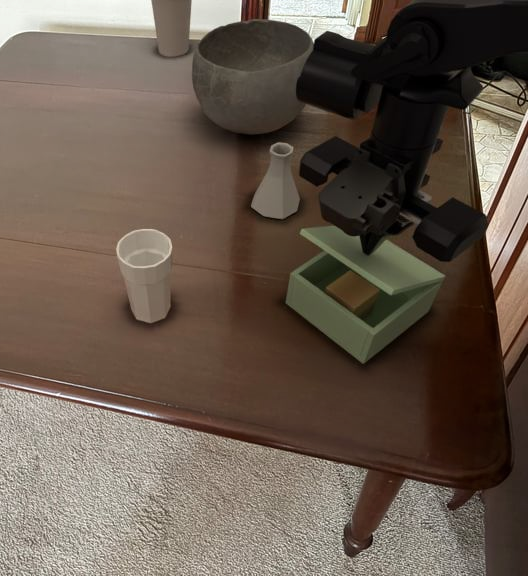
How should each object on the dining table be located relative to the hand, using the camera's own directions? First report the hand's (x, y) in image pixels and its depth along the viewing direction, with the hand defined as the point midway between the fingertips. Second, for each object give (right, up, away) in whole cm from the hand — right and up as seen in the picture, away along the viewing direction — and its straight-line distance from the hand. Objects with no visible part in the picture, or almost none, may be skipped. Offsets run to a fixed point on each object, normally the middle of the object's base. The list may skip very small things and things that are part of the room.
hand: (368, 252), depth 64 cm
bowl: (-6, +26, +38) cm, 46 cm away
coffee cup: (-19, +48, +59) cm, 78 cm away
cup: (-24, -7, +11) cm, 28 cm away
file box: (+2, -6, +8) cm, 10 cm away
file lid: (+1, -1, +2) cm, 2 cm away
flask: (-5, +9, +23) cm, 25 cm away
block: (0, -7, +7) cm, 10 cm away
